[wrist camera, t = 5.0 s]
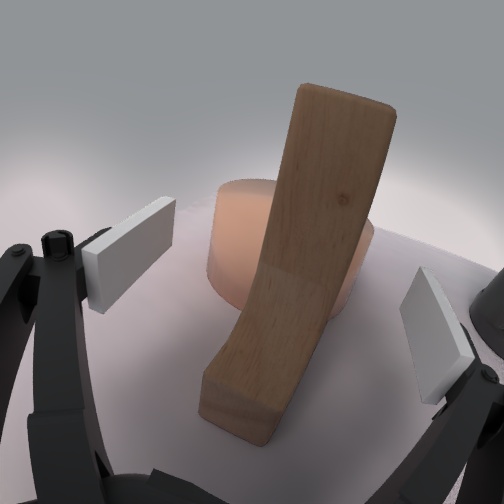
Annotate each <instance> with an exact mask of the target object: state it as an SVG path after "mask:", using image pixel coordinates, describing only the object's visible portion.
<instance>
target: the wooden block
mask: <svg viewBox="0 0 504 504" xmlns="http://www.w3.org/2000/svg"><path fill="white" fill-rule="evenodd" d="M396 119H397V115H396V110H395V109H394V108H393V107H391V106H390V105H387V104H384V103H381V102H378V101H375V100H372V99H368V98H365V97H361V96H358V95H354V94H351V93H347V92H343V91H340V90H335V89H332V88H327V87H323V86H318V85H314V84H310V83H305V84H301V85H300V87H299V88H298V90H297V94H296V98H295V103H294V107H293V112H292V116H291V121H290V125H289V130H288V134H287V139H286V144H285V148H284V152H283V156H282V161H281V165H280V170H279V175H278V179H277V183H276V187H275V192H274V196H273V201H272V205H271V209H270V214H269V218H268V222H267V227H266V231H265V235H264V240H263V244H262V248H261V253H260V257H259V261H258V266H257V270H256V274H255V277H254V280H253V283H252V286H251V289H250V292H249V295H248V298H247V301H246V304H245V307H244V309H243V311H242V313H241V315H240V317H239V319H238V321H237V323H236V325H235V327H234V329H233V331H232V333H231V335H230V337H229V339H228V340H227V342H226V343H225V344H224V346H223V347H222V348H221V350H220V351H219V352H218V354H217V355H216V356H215V358H214V359H213V360H212V362H211V363H210V364H209V366H208V367H207V368H206V369H205V371H204V374H203V379H202V387H201V395H200V403H199V411H198V413H199V415H200V416H201V417H203V418H204V419H206V420H208V421H210V422H212V423H213V424H215V425H217V426H219V427H221V428H223V429H225V430H227V431H228V432H230V433H232V434H234V435H236V436H238V437H240V438H242V439H244V440H246V441H249V442H251V443H253V444H255V445H257V446H264V445H265V444H266V443H267V442H268V440H269V438H270V437H271V435H272V433H273V431H274V430H275V428H276V426H277V424H278V422H279V420H280V419H281V417H282V415H283V413H284V411H285V409H286V407H287V405H288V403H289V401H290V399H291V397H292V395H293V393H294V391H295V389H296V387H297V385H298V383H299V381H300V379H301V377H302V375H303V373H304V371H305V369H306V367H307V365H308V363H309V360H310V358H311V356H312V354H313V352H314V350H315V347H316V345H317V343H318V341H319V339H320V336H321V334H322V332H323V330H324V327H325V325H326V323H327V320H328V318H329V316H330V313H331V311H332V309H333V306H334V304H335V302H336V299H337V297H338V294H339V292H340V289H341V287H342V284H343V282H344V279H345V277H346V274H347V272H348V269H349V267H350V264H351V261H352V259H353V256H354V253H355V251H356V248H357V245H358V242H359V240H360V237H361V234H362V231H363V228H364V226H365V223H366V220H367V217H368V214H369V211H370V208H371V205H372V202H373V199H374V196H375V193H376V189H377V186H378V183H379V179H380V176H381V173H382V170H383V166H384V163H385V160H386V156H387V152H388V149H389V145H390V142H391V138H392V134H393V130H394V126H395V123H396Z"/></svg>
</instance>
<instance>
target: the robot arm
mask: <svg viewBox="0 0 504 504" xmlns="http://www.w3.org/2000/svg"><path fill="white" fill-rule="evenodd" d="M175 203H176V199H174V198H170V197H166V196H162V197H161V198H159V199H157V200H156V201H154V202H153V203H151V204H149V205H147V206H146V207H144V208H142V209H141V210H139V211H138V212H136V213H135V214H133V215H131V216H130V217H128V218H127V219H125V220H124V221H122V222H121V223H119V224H117V225H116V226H115V227H113V228H112V227H109V228H105V229H102V230H100V231H98V232H97V233H95V234H94V235H93V236H91V237H89V238H88V239H87V240H85V241H83V242H82V243H80V244H79V245H78V246H76V247H74V242H73V235H72V233H71V232H69V231H66V230H55V231H51V232H48V233H46V234H45V235H44V236H43V237H42V238H41V241H42V249H43V254H44V257H37V256H33V252H32V248H31V246H30V245H28V244H17V245H16V244H15V245H13V246H12V247H10V248H8V249H7V250H6V251H5V253H4V254H3V255H2V257H1V258H0V442H1V437H2V431H3V426H4V422H5V417H6V413H7V409H8V404H9V400H10V397H11V393H12V389H13V385H14V382H15V378H16V375H17V372H18V369H19V365H20V362H21V359H22V356H23V353H24V350H25V347H26V344H27V342H28V339H29V336H30V333H31V331H32V328H33V325H34V323H35V333H34V352H33V400H34V412H33V413H32V414H29V415H28V418H27V429H28V441H29V450H30V458H31V466H32V472H33V478H34V484H35V490H36V495H37V499H35V500H31V501H27V502H23V503H18V504H229V503H227V502H225V501H223V500H221V499H219V498H217V497H215V496H213V495H212V494H210V493H208V492H206V491H205V490H203V489H201V488H199V487H198V486H196V485H194V484H193V483H191V482H188V481H185V480H182V479H179V478H177V477H174V476H171V475H169V474H166V473H164V472H161V471H159V470H156V469H153V471H152V473H151V475H145V474H119V475H114V473H113V470H112V467H111V465H110V462H109V459H108V457H107V454H106V451H105V447H104V443H103V439H102V435H101V431H100V427H99V422H98V418H97V413H96V408H95V403H94V397H93V392H92V386H91V380H90V374H89V367H88V359H87V351H86V343H85V333H84V321H83V308H82V301H83V300H84V299H85V298H86V297H87V299H88V305H89V308H90V309H92V310H94V311H97V312H99V313H101V314H104V313H105V312H106V311H107V310H108V309H109V308H110V307H111V306H112V305H113V304H114V303H115V302H116V301H117V300H118V299H119V298H120V297H121V296H122V295H123V294H124V292H125V291H126V290H127V289H128V288H129V287H130V286H131V285H132V284H133V283H134V282H135V281H136V280H137V279H138V278H139V277H140V276H141V275H142V274H143V273H144V272H145V271H146V270H147V269H148V268H149V267H150V266H151V265H152V264H153V263H154V262H155V261H156V260H157V259H158V258H159V257H160V256H161V255H163V254H164V253H165V252H166V251H167V250H168V249H169V248H170V247H171V246H172V238H173V226H174V214H175ZM400 312H401V315H402V319H403V323H404V326H405V330H406V334H407V337H408V341H409V345H410V349H411V353H412V358H413V362H414V366H415V371H416V375H417V380H418V385H419V390H420V395H421V400H422V403H425V404H434V405H437V404H438V403H439V401H440V400H441V399H442V398H443V397H444V396H445V397H446V401H447V403H446V404H445V405H444V406H443V407H442V408H441V409H440V410H439V411H438V412H437V413H436V414H435V416H434V417H433V418H432V420H433V422H432V423H431V425H430V426H429V427H428V429H427V430H426V432H425V433H424V434H423V436H422V437H421V439H420V440H419V441H418V443H417V444H416V445H415V447H414V448H413V449H412V450H411V452H410V453H409V454H408V456H407V457H406V458H405V459H404V460H403V462H402V463H401V464H400V465H399V467H398V468H397V469H396V470H395V471H394V472H393V474H392V475H391V476H390V477H389V478H388V479H387V480H386V481H385V483H384V484H383V485H382V486H381V487H380V488H379V489H378V490H377V491H376V492H375V493H374V494H373V495H372V496H371V497H370V498H369V500H368V501H367V502H366V503H365V504H443V502H444V501H445V499H446V497H447V496H448V494H449V493H450V491H451V489H452V488H453V486H454V484H455V482H456V481H457V479H458V477H459V475H460V473H461V472H462V470H463V468H464V466H465V464H466V462H467V464H466V468H465V472H464V476H463V480H462V483H461V487H460V490H459V493H458V496H457V500H456V503H455V504H504V385H502V384H500V383H499V378H498V375H497V374H496V372H495V371H494V370H493V369H492V368H491V367H489V366H488V365H485V364H482V362H481V360H480V358H479V355H478V353H477V351H476V348H475V346H474V344H473V342H472V340H471V337H470V335H469V333H468V331H467V330H466V329H465V327H464V326H463V325H462V324H461V323H459V321H458V319H457V317H456V314H455V312H454V310H453V308H452V306H451V304H450V302H449V300H448V299H447V297H446V295H445V293H444V291H443V289H442V287H441V285H440V283H439V282H438V280H437V278H436V276H435V274H434V272H433V271H432V270H431V269H428V268H425V267H422V266H420V268H419V270H418V272H417V274H416V276H415V278H414V280H413V282H412V285H411V287H410V289H409V291H408V293H407V295H406V297H405V299H404V301H403V302H402V304H401V306H400ZM470 316H471V319H472V322H473V324H474V326H475V328H476V329H477V331H478V332H479V334H480V335H481V337H482V338H483V339H484V340H485V342H486V343H487V344H488V345H489V346H490V347H491V348H492V349H493V350H494V351H495V352H496V353H497V354H498V355H499V356H501V357H502V358H503V359H504V268H503V269H502V270H501V271H500V272H499V274H498V275H497V276H496V277H495V278H494V279H493V280H492V281H491V283H490V284H489V285H488V286H487V287H486V288H484V289H483V290H481V291H480V292H479V294H478V295H477V297H476V298H475V300H474V302H473V304H472V305H471V308H470Z"/></svg>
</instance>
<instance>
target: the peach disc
mask: <svg viewBox="0 0 504 504" xmlns="http://www.w3.org/2000/svg"><path fill="white" fill-rule="evenodd" d="M276 183H277V181H274V180H266V179H241V180H235V181H230V182H227V183H225V184H223V185H222V186H221V187H220V188H219V189H218V193H217V199H216V206H215V212H214V219H213V226H212V232H211V239H210V246H209V253H208V261H207V276H208V279H209V281H210V283H211V285H212V286H213V288H214V289H215V290H216V292H217V293H218V294H219V295H220V296H221V297H222V298H224V299H225V300H226V301H227V302H229V303H230V304H231V305H233V306H234V307H236V308H238V309H240V310H242V311H243V309H244V307H245V304H246V301H247V298H248V295H249V292H250V289H251V286H252V283H253V280H254V277H255V274H256V270H257V266H258V261H259V257H260V253H261V248H262V244H263V240H264V235H265V231H266V227H267V222H268V218H269V214H270V209H271V205H272V201H273V196H274V192H275V187H276ZM373 234H374V227H373V225H372V223H371V222H370V221H369V219H368V218H367V220H366V223H365V226H364V228H363V231H362V234H361V237H360V240H359V242H358V245H357V248H356V251H355V253H354V256H353V259H352V261H351V264H350V267H349V269H348V272H347V274H346V277H345V279H344V282H343V284H342V287H341V289H340V292H339V294H338V297H337V299H336V302H335V304H334V306H333V309H332V311H331V313H330V316H329V318H328V320H329V319H331V318H333V317H334V316H336V315H337V314H339V313H340V311H341V310H342V309H343V308H344V306H345V304H346V302H347V299H348V297H349V295H350V292H351V290H352V288H353V285H354V283H355V280H356V278H357V275H358V273H359V271H360V268H361V266H362V263H363V260H364V258H365V255H366V253H367V250H368V248H369V245H370V242H371V240H372V237H373Z"/></svg>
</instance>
